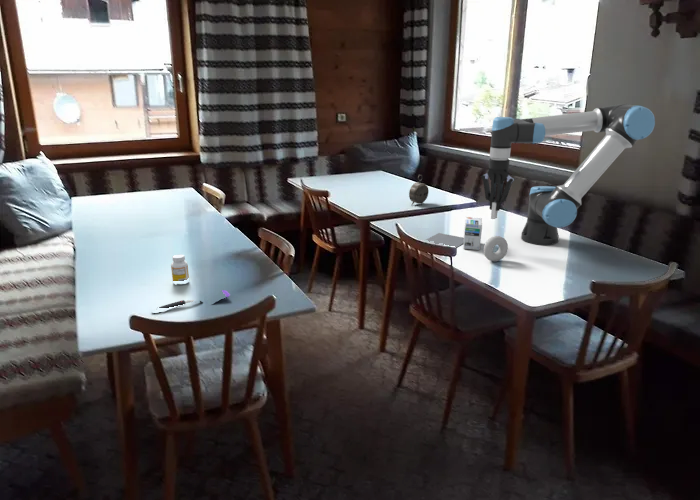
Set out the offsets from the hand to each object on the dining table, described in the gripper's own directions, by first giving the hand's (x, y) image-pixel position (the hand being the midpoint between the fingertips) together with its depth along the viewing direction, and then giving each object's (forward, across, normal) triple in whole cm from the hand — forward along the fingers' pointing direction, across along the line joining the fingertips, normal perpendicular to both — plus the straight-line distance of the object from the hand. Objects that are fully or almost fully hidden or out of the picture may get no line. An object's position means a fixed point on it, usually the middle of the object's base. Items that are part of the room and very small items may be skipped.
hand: (493, 218), depth 221 cm
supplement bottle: (+15, +73, +96) cm, 121 cm away
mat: (+14, +20, 0) cm, 24 cm away
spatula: (+15, +55, +106) cm, 120 cm away
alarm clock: (+14, +61, -49) cm, 79 cm away
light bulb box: (+13, +9, 0) cm, 16 cm away
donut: (+14, -6, +12) cm, 19 cm away
